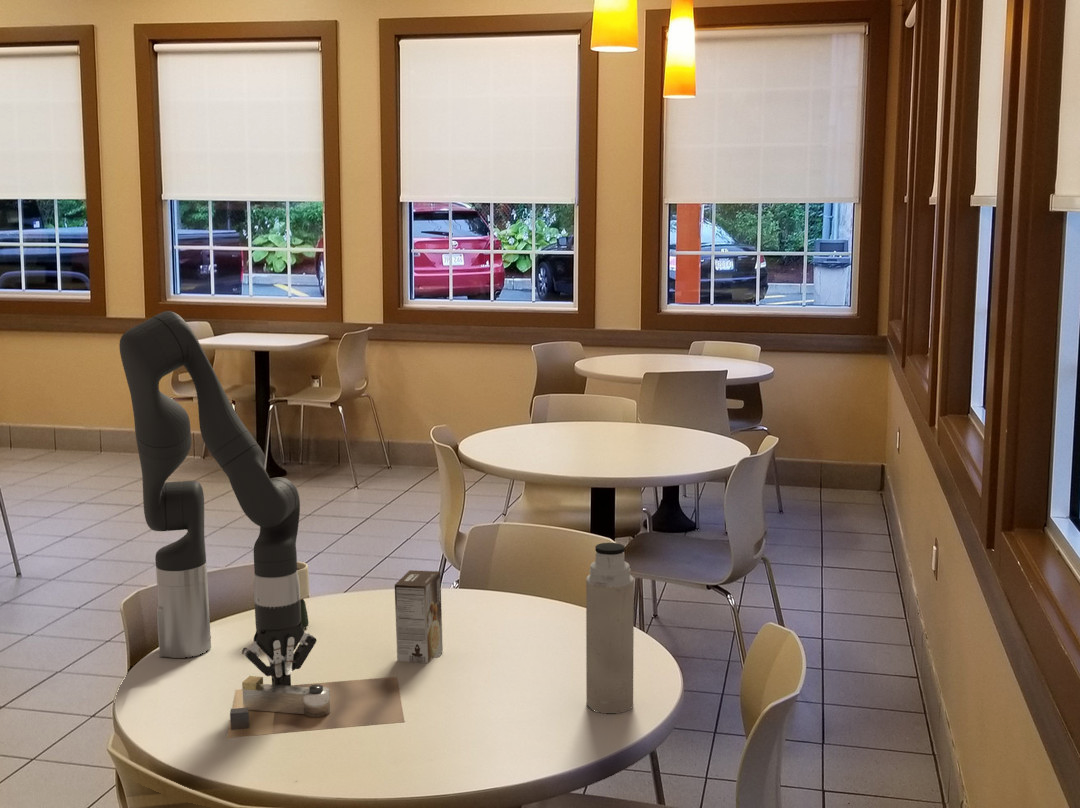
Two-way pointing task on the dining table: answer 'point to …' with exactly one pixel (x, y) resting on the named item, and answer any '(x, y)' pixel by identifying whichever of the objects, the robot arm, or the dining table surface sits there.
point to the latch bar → (285, 698)
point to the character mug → (303, 590)
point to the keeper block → (239, 718)
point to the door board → (332, 709)
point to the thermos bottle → (609, 631)
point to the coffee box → (418, 616)
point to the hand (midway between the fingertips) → (282, 694)
